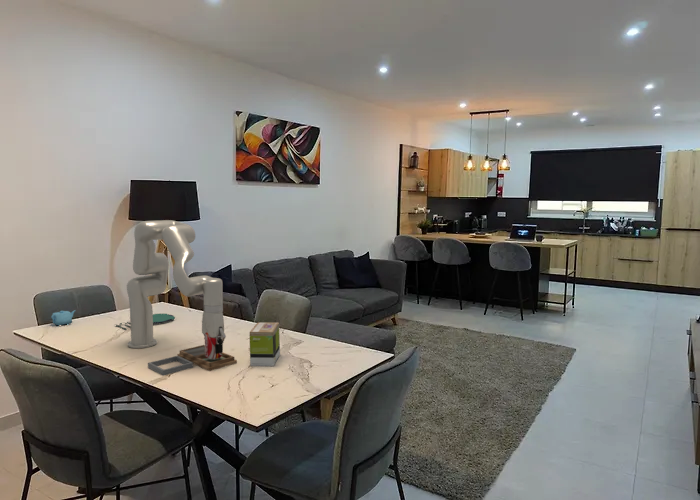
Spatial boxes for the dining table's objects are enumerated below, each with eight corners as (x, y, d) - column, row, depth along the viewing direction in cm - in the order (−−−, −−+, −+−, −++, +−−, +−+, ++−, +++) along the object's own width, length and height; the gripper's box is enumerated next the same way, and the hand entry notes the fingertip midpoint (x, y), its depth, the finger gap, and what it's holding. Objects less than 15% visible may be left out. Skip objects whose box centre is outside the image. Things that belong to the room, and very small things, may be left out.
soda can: (217, 361, 196) (217, 332, 195) (201, 360, 198) (201, 331, 196) (225, 356, 203) (225, 328, 202) (210, 354, 204) (209, 326, 203)
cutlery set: (180, 321, 268) (180, 317, 268) (125, 332, 246) (125, 328, 246) (164, 315, 282) (164, 311, 281) (110, 325, 260) (110, 321, 260)
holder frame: (148, 367, 194) (147, 362, 194) (177, 360, 203) (177, 355, 203) (163, 375, 186) (163, 370, 186) (193, 367, 195) (193, 362, 195)
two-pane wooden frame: (177, 356, 208) (177, 350, 208) (204, 350, 217) (204, 344, 217) (209, 371, 191) (208, 364, 191) (236, 363, 201) (236, 356, 200)
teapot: (74, 321, 265) (73, 307, 264) (78, 323, 261) (78, 309, 260) (49, 325, 256) (49, 311, 255) (53, 327, 252) (53, 313, 251)
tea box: (257, 354, 212) (257, 321, 211) (280, 355, 212) (280, 321, 211) (249, 366, 197) (249, 330, 196) (274, 366, 197) (273, 331, 196)
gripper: (193, 306, 201) (194, 348, 203) (217, 313, 189) (217, 357, 191) (209, 303, 206) (210, 344, 208) (233, 310, 195) (233, 353, 197)
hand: (213, 350), depth 200 cm, fingers closed on soda can, 6 cm apart
